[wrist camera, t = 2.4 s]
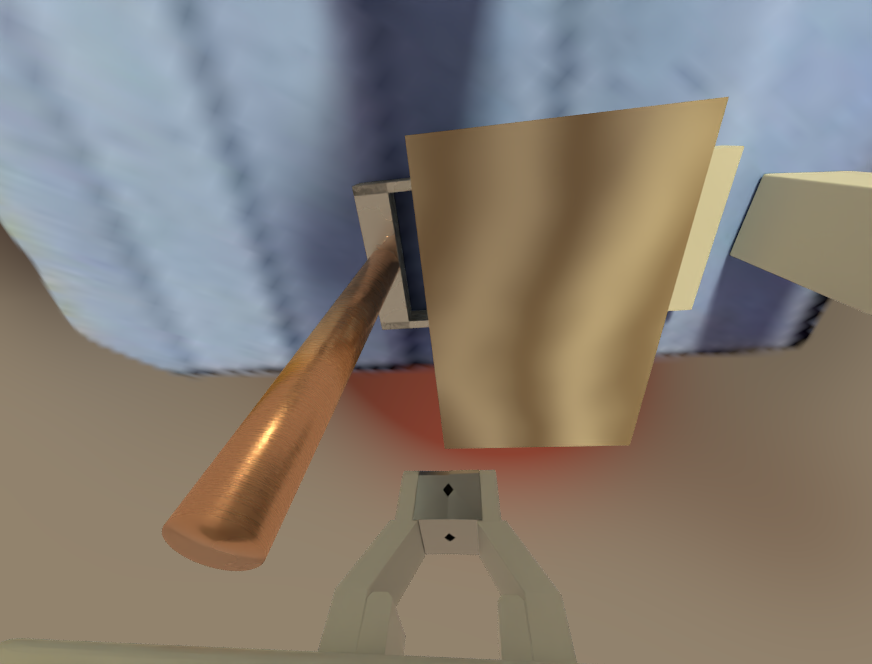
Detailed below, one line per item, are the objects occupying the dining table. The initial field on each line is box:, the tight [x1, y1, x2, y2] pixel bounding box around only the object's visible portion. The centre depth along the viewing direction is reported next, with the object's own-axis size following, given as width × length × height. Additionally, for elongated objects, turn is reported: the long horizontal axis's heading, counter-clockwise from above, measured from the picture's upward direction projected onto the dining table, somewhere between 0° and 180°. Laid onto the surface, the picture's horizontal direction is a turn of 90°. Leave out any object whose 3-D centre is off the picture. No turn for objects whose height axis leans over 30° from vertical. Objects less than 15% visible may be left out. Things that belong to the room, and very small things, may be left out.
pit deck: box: [668, 146, 744, 311], centre depth 30 cm, size 10×14×2 cm
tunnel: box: [405, 97, 729, 449], centre depth 26 cm, size 13×20×16 cm, turn 6°
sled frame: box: [162, 178, 429, 571], centre depth 21 cm, size 20×14×28 cm
